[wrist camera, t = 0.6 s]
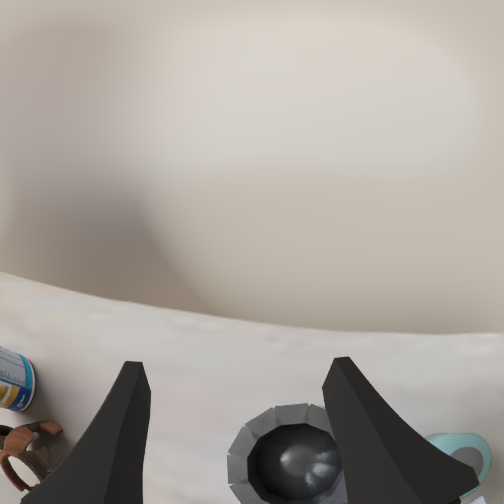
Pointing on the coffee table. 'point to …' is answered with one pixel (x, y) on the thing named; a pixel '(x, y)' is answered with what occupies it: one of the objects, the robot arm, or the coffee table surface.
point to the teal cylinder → (465, 451)
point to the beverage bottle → (15, 381)
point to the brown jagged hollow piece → (16, 445)
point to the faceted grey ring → (287, 459)
